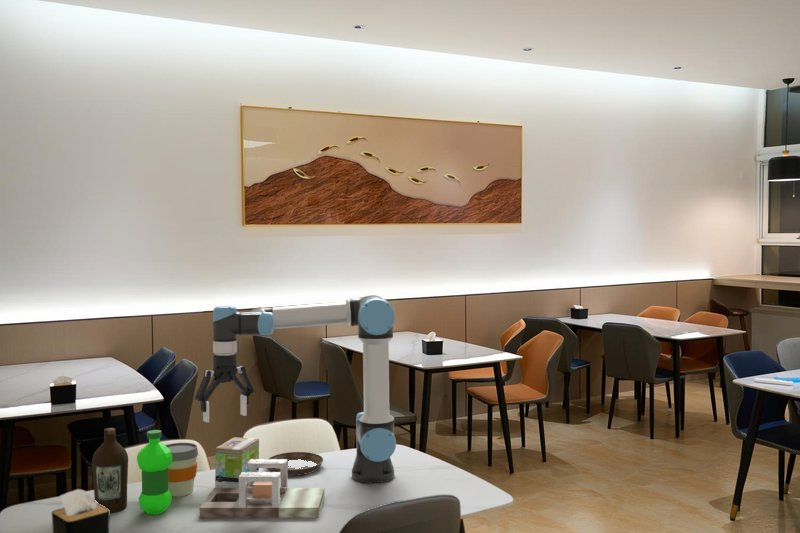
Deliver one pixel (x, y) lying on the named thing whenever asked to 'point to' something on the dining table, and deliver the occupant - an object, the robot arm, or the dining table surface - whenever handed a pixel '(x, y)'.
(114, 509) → the olive oil
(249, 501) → the tunnel
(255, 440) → the tea box
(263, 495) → the terracotta block
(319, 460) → the plant saucer
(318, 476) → the dining table surface
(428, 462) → the dining table surface
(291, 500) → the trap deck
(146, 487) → the plastic bottle
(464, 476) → the dining table surface
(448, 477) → the dining table surface
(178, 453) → the reusable coffee cup
